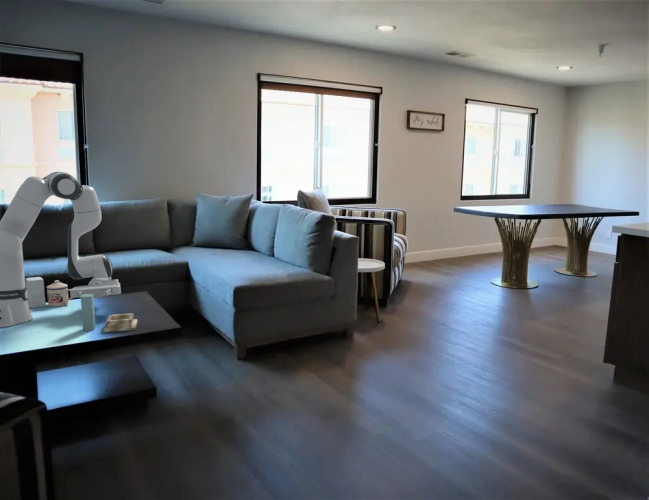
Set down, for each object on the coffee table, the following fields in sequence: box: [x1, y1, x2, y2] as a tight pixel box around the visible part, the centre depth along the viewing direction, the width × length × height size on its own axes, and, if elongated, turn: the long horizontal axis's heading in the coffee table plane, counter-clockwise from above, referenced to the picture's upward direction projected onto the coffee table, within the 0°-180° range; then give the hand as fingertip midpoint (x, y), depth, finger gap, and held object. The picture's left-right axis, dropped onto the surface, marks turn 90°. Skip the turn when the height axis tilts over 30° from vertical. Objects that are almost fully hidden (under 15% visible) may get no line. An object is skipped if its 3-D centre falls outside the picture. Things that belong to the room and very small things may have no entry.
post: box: [80, 294, 96, 332], centre depth 205 cm, size 4×4×14 cm
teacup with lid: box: [46, 279, 73, 308], centre depth 242 cm, size 12×9×12 cm
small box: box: [25, 276, 46, 309], centre depth 240 cm, size 8×6×13 cm
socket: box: [102, 312, 138, 333], centre depth 209 cm, size 12×12×4 cm
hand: (93, 294), depth 216 cm, fingers open, 8 cm apart
